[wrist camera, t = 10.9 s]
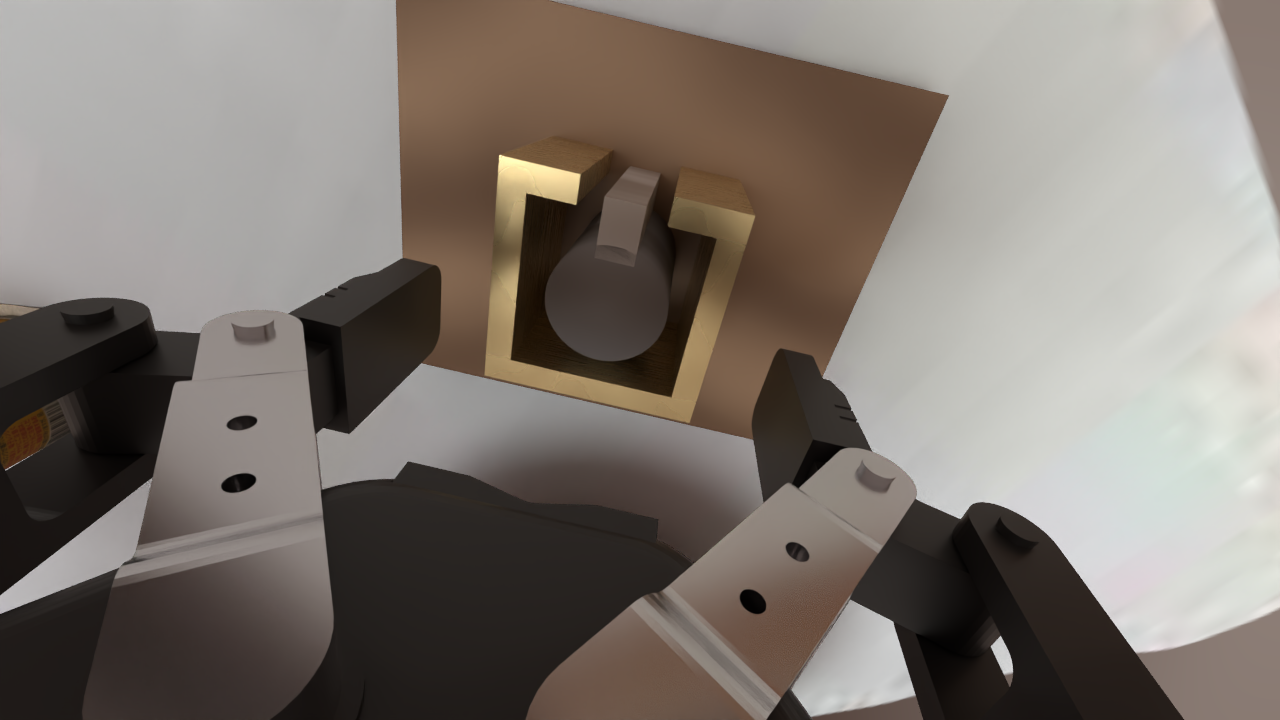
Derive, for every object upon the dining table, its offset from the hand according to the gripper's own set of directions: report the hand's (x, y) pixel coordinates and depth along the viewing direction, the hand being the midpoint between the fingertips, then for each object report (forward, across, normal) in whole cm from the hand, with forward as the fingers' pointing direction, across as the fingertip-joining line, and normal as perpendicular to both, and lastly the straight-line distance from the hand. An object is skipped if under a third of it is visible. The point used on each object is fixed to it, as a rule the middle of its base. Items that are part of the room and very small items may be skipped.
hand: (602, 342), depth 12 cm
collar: (+6, 0, 0) cm, 6 cm away
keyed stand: (+8, 0, 0) cm, 8 cm away
